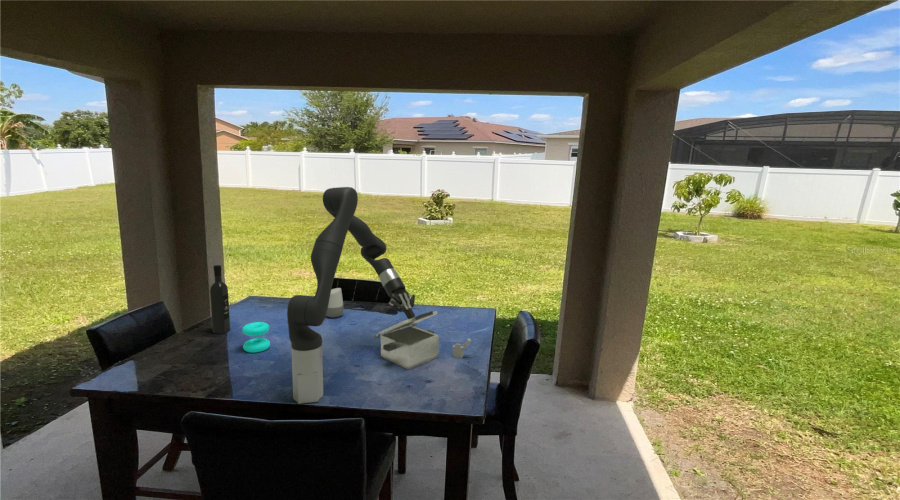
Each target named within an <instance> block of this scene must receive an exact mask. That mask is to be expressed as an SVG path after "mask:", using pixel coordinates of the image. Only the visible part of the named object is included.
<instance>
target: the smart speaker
mask: <svg viewBox="0 0 900 500" xmlns="http://www.w3.org/2000/svg"><path fill="white" fill-rule="evenodd" d="M343 299H344V298H343V293H342V288H341V287H336V288H331V294H330V299H329V304H328V309H327V314H326V317H327V318H330V319H337V318H340V317H342V316H343V313H344V301H343Z"/></svg>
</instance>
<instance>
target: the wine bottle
mask: <svg viewBox="0 0 900 500" xmlns="http://www.w3.org/2000/svg"><path fill="white" fill-rule="evenodd" d="M213 272H214V273H213V274H214V275H213V276H214V277H213V278H214V282H213V283H212V284H211V285H210V288H209V298H210V313H211V326H212V327H211V328H212V333H213V334H218V335H223V334H226V333H228V332H229V331H231V321H230V320H231V318H230V317H231V316H230V302H229V289H228V288H229V287H228V285H227V284H226V283H225V282H224V281H223V279H222V278H223V277H222V265H219V264H217V265H213Z"/></svg>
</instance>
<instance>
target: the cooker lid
mask: <svg viewBox="0 0 900 500" xmlns="http://www.w3.org/2000/svg"><path fill="white" fill-rule="evenodd" d="M435 315H438V311H437V310H435V311H432V310H431V311H429V312H424V313H421V314H420V315H418V316H415V317H414V318H411V319H408V318H407V319H406V320H402V321H400V322H397V323H396V324H394V325H391V326H389V327H387V328H385V329H383V330H380V331H379V332H378V334H379V335H380V336H381V335H383V334H386V333H389V332H392V331H395V330H398V329H401V328H405V327H408V326H412V325H413V324H415V323H417V324H418V323H419V322H422V321H425V320H426V319H429V318H431V317H433V316H435Z"/></svg>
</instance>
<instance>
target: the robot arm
mask: <svg viewBox="0 0 900 500" xmlns="http://www.w3.org/2000/svg"><path fill="white" fill-rule="evenodd" d="M358 201H359V197H358V192H357V191H356V189H355V188H353V187H349V186H339V187H330V188H327V189H325V190H324V192H323V195H322V203H323V206H324V208H325V210H326V211H327V213H329V214H330V215H331V216H332V217H333V220H332V221H331V222H330V223H329V224H328V225H327V226H326V227H325V228H324V229H323V230H322V231H321V232H320V234H319V235H318V236H317V237H316V238H315V241H314V244H313V247H312V250H311V254H310V262H311V263H310V264H311V266H312V269H313V271H314V274H315V277H316V281H317V282H316V283H317V285H316V290H315V291H316V292H315V294H314V295H304V294H303V295H302V294H296V295H293V296H292V297H291V298H290V299H289V301H288V304H287V309H286V311H287V312H286V314H287V315H286V316H287V317H286V319H287V327H288V336H289V341H290V345H291V370H292V371H291V372H292V377H291V378H292V398H293V400H294V401H295V402H296V403H297V404H298V405H301V404H308V403H316V402H319V401H320V399H321V398H323V396H324V377H323V376H324V373H323V370H324V367H323V365H324V364H323V362H324V361H323V338H322V335H321V334H320V333H318V332H317V331H315V330H313V329H312V328H310V327H320V326H321V325H322V324H323V323H324V322H325V319H326V317H327V316H326V314H327V309H328V304H329V299H330V294H331V290H332V289H333V288H332V287H333V282H334V281H335V280H334V279H335V276H336V273H337V272H336V271H337V268H338V265H339V263H340V259H341V256H342V251H343V249H344V244H345V240H346V237H347V234H348V232H349V233H350V234H351V235H352V237H353V238H354V240H355V241H356V243H357V244H358V245H359V246H360V247H361V248H360V255H361V257H362V258H363V259H364V260H365V261H366V262H367V263H368V264H369V265H370V266H371V267H372V268H373V269H374V270H375V273H376V275H377V276H378V278H379V281H380V283H381V285H382V287H383V288H384V290H385V292H386V294H387V295H388V297H390V300H389V302H388V306H389V307H390V308H392V309H394V310H395V311H397V312H398V313H402V312H403V314H405V316H406V318H407V319H411V318H414V317H416V316H415V315H416V314H415V312H414V311H413V309H412V308H413V307H415V300H416V295H415V294H412V295H411V294H409V292H408V290H407V289H406V285H405V284H404V282H403V280H402V278H401V277H400V275H399V274H398V272H397V270H396V269H395V268H394V266H393V264H392V262H391V261H390V259H389V258H387V257H383V258H380V259H377V258H379V257H381V256H383V255H384V254H386V252H387V245H386V243H385V241H383V240H382V239H381V238H380V237H378V236H377V235H375V234H374V233H373V231H372V230H371V228H370V227H369V225H368V224H367V223H366V222H365V221H363V219H360V218H359V217H357V216H356V215H355V213H356V210H357V207H358Z"/></svg>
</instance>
